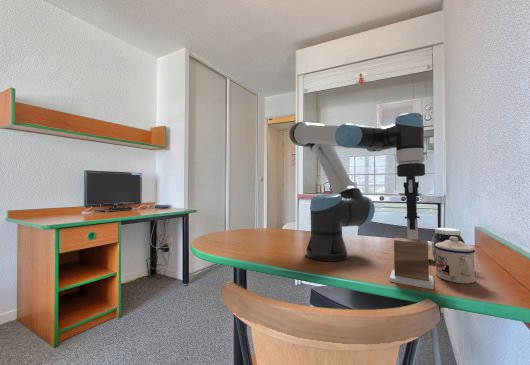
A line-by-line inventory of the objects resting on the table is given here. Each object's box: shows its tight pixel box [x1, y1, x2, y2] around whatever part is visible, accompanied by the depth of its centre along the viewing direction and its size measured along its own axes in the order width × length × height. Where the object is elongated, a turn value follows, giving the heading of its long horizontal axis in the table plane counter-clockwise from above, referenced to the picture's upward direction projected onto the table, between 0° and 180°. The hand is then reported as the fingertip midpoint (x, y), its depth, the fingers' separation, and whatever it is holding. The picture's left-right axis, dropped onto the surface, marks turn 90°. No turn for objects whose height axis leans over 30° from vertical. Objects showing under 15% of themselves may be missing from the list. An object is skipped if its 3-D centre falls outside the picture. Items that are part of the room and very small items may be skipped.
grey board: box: [389, 269, 435, 290], centre depth 68 cm, size 10×8×1 cm
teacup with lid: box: [435, 237, 476, 285], centre depth 68 cm, size 12×9×12 cm
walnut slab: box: [393, 237, 430, 281], centre depth 68 cm, size 4×8×10 cm, turn 58°
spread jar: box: [427, 227, 466, 263], centre depth 84 cm, size 12×11×12 cm
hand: (412, 239), depth 75 cm, fingers closed
